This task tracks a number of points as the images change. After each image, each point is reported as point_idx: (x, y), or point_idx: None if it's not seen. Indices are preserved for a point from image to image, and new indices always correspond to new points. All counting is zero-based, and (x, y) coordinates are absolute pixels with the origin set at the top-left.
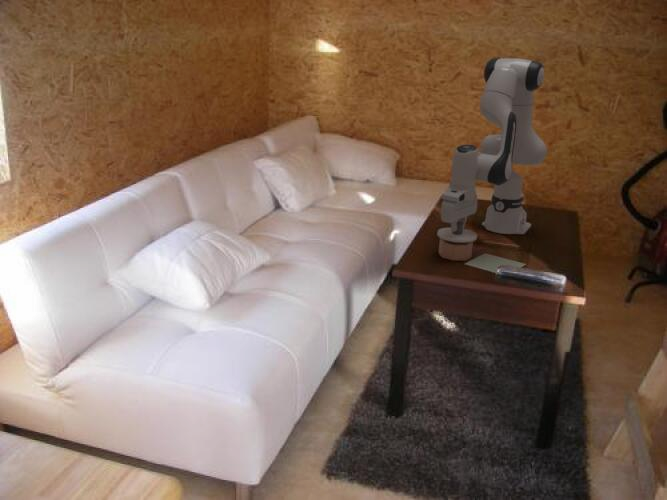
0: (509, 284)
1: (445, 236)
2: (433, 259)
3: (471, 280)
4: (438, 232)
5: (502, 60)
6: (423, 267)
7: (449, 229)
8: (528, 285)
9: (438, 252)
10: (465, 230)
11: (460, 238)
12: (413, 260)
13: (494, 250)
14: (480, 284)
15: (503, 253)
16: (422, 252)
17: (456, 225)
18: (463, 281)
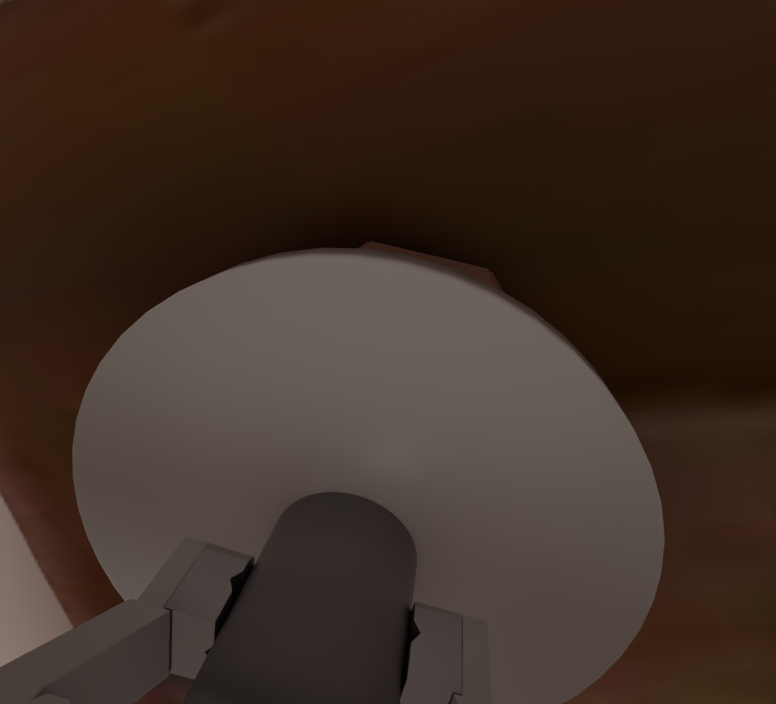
0: (159, 691)
1: (78, 447)
2: (227, 241)
3: (63, 547)
4: (172, 306)
5: None
6: (7, 231)
7: (470, 422)
8: None
9: (363, 245)
10: (555, 625)
11: None
12: (74, 79)
13: (754, 616)
14: (51, 589)
15: (697, 668)
16: (346, 59)
17: (118, 701)
18: (16, 515)
